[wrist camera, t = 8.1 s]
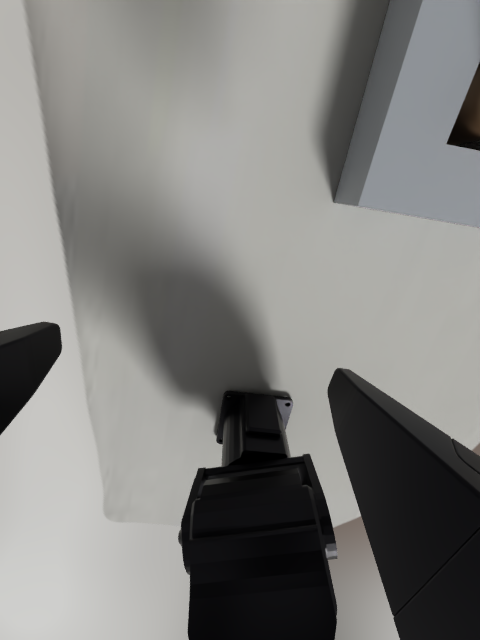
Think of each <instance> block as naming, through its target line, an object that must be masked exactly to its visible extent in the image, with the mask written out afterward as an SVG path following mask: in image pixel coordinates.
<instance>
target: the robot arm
mask: <svg viewBox="0 0 480 640" xmlns="http://www.w3.org/2000/svg"><path fill="white" fill-rule="evenodd" d="M61 350H62V344H61V333H60V327H59V325H57V324H55V323H49V322H40V323H35V324H31V325H26V326H22V327H18V328H13V329H8V330H4V331H0V435H1V434H2V432H3V431H4V430H5V429H6V428H7V426H8V425H9V424H10V423H11V421H12V420H13V419H14V418H15V417H16V415H17V414H18V413H19V412H20V410H21V409H22V408H23V407H24V406H25V405H26V403H27V402H28V401H29V399H30V398H31V397H32V396H33V394H34V393H35V392H36V390H37V389H38V387H39V386H40V384H41V383H42V381H43V380H44V378H45V377H46V375H47V374H48V372H49V371H50V369H51V368H52V366H53V364H54V363H55V361H56V360H57V358H58V357H59V355H60V353H61ZM227 396H231V397H227ZM328 398H329V403H330V408H331V413H332V418H333V423H334V428H335V433H336V436H337V440H338V443H339V446H340V450H341V453H342V456H343V459H344V462H345V465H346V469H347V472H348V475H349V478H350V481H351V484H352V488H353V491H354V494H355V497H356V500H357V503H358V507H359V510H360V513H361V516H362V519H363V522H364V526H365V529H366V532H367V535H368V538H369V541H370V545H371V548H372V551H373V554H374V557H375V561H376V564H377V567H378V570H379V573H380V577H381V580H382V583H383V586H384V589H385V592H386V596H387V599H388V602H389V605H390V608H391V611H392V614H393V616H394V622H395V625H396V628H397V631H398V634H399V638H400V640H480V456H479V455H477V454H475V453H474V452H473V451H471V450H469V449H468V448H466V447H465V446H463V445H462V444H460V443H459V442H457V441H456V440H454V439H451V437H450V436H448V435H447V434H445V433H444V432H442V431H441V430H439V429H438V428H436V427H435V426H433V425H432V424H430V423H429V422H427V421H426V420H424V419H423V418H421V417H420V416H418V415H417V414H415V413H414V412H412V411H411V410H409V409H408V408H406V407H405V406H403V405H402V404H400V403H399V402H397V401H396V400H394V399H393V398H391V397H390V396H388V395H387V394H385V393H384V392H382V391H381V390H379V389H378V388H376V387H375V386H373V385H372V384H370V383H369V382H367V381H366V380H364V379H363V378H361V377H360V376H358V375H357V374H355V373H354V372H352V371H351V370H349V369H343V368H337V369H336V370H335V372H334V374H333V376H332V379H331V381H330V384H329V386H328ZM286 403H288V404H286ZM292 407H293V401H292V399H291V398H288V397H280V396H271V395H262V394H253V393H244V392H235V391H226V392H225V393H224V395H223V401H222V407H221V413H220V420H219V426H218V432H217V439H216V441H217V443H219V444H223V449H222V467H215V468H207V469H206V468H198V471H197V475H196V478H195V479H194V482H193V485H192V489H191V492H190V495H189V499H188V502H187V505H186V508H185V512H184V515H183V518H182V522H181V530H180V531H179V536H178V537H179V538H178V540H179V543H180V544H181V546H182V553H183V561H184V566H185V569H186V572H187V573H188V574H189V575H190V601H189V619H188V637H189V640H334V639H335V632H336V624H337V619H336V615H337V604H336V599H335V594H334V589H333V584H332V579H331V575H330V570H329V565H328V560H329V559H337V548H336V541H335V536H334V531H333V526H332V522H331V518H330V514H329V510H328V506H327V503H326V499H325V496H324V493H323V490H322V487H321V485H320V482H319V479H318V476H317V473H316V471H315V468H314V465H313V462H312V459H311V456H310V454H303V456H298V457H291V456H290V451H289V446H288V442H287V437H286V432H285V429H286V426H287V423H288V420H289V416H290V413H291V410H292Z"/></svg>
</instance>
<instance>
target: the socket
mask: <svg viewBox="0 0 480 640" xmlns="http://www.w3.org/2000/svg"><path fill="white" fill-rule="evenodd" d="M479 62H480V0H390V3H389V6H388V10H387V13H386V17H385V21H384V24H383V28H382V31H381V35H380V39H379V42H378V46H377V49H376V53H375V56H374V60H373V64H372V67H371V71H370V74H369V78H368V82H367V85H366V89H365V92H364V96H363V99H362V103H361V107H360V110H359V114H358V117H357V121H356V125H355V128H354V132H353V135H352V139H351V142H350V146H349V150H348V153H347V157H346V160H345V164H344V168H343V171H342V175H341V178H340V182H339V186H338V189H337V193H336V196H335V200H334V203H338V204H344V205H350V206H356V207H362V208H367V209H373V210H379V211H385V212H391V213H396V214H402V215H408V216H414V217H419V218H425V219H431V220H437V221H443V222H448V223H454V224H460V225H466V226H472V227H477V228H480V151H478V150H473V149H468V148H463V147H458V146H453V145H448V144H446V143H447V141H448V138H449V136H450V133H451V131H452V128H453V126H454V124H455V121H456V119H457V116H458V114H459V111H460V109H461V106H462V104H463V101H464V99H465V97H466V94H467V92H468V89H469V87H470V84H471V82H472V79H473V77H474V75H475V72H476V70H477V67H478V65H479Z"/></svg>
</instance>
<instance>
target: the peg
mask: <svg viewBox="0 0 480 640" xmlns="http://www.w3.org/2000/svg"><path fill="white" fill-rule="evenodd" d="M479 140H480V63H479V65H478V67H477V70H476V72H475V75H474V77H473V79H472V82H471V84H470V87H469V89H468V92H467V94H466V97H465V99H464V101H463V104H462V106H461V109H460V111H459V114H458V116H457V119H456V121H455V124H454V126H453V128H452V131H451V133H450V136H449V138H448V141H447V143H446V144H448V145H459V144H464V143H469V142H474V141H479Z"/></svg>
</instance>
